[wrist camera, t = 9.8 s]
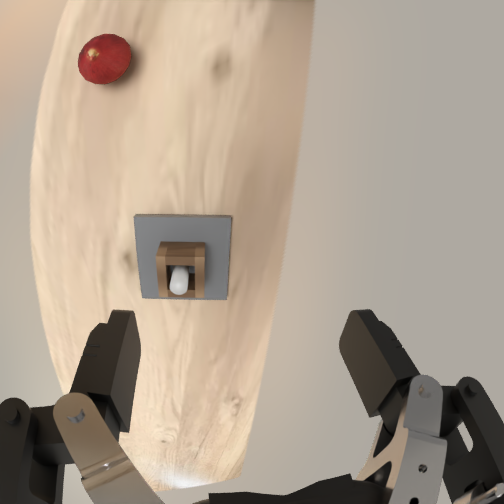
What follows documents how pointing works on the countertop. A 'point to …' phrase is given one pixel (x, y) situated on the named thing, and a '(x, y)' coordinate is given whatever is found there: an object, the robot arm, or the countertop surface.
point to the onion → (104, 58)
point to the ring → (181, 256)
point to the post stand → (183, 230)
